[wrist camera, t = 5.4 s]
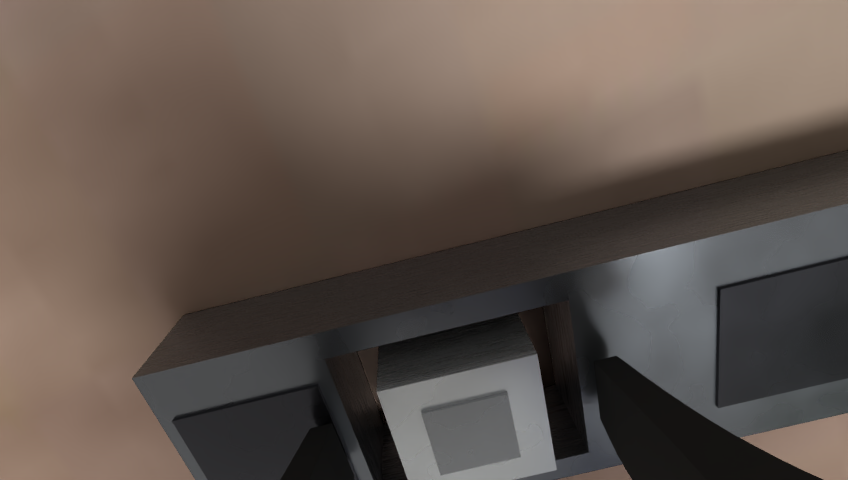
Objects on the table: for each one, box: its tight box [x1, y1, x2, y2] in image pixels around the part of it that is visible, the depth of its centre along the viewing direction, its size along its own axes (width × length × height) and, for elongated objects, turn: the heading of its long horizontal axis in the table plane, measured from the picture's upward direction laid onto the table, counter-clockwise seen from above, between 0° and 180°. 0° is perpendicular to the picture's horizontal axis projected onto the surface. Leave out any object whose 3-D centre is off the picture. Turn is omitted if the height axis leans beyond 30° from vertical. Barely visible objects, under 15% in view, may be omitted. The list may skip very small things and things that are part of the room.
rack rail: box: [132, 150, 848, 480], centre depth 14 cm, size 7×22×3 cm, turn 103°
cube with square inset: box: [377, 313, 557, 480], centre depth 13 cm, size 4×4×4 cm
